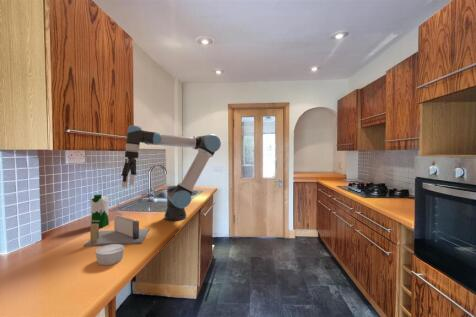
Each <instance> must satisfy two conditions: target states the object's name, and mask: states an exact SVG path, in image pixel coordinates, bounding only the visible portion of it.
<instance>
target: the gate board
mask: <svg viewBox="0 0 476 317" xmlns="http://www.w3.org/2000/svg"><path fill="white" fill-rule="evenodd" d="M149 232H150V228H139V238H138V239H133V237H131V236H128V235H125V234H123V233H120V232H117V231H114V230H113V229H111V230H99V241H98V242H97V243H91V242H90V239H89V240H88V241H86V242H85V243H84V244H83V247H102V246H106V245H110V244H121V245H123V246H124V245H140V244H143V242H144V240H145V239H146V237H147V235H148V233H149Z"/></svg>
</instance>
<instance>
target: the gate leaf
mask: <svg viewBox="0 0 476 317" xmlns="http://www.w3.org/2000/svg"><path fill="white" fill-rule="evenodd" d="M113 221H114V222H113V223H114V224H113V225H114V226H113V227H114V231H117V232H120V233H123V234H125V235H128V236H131V237H133V221H135V220H134V219H132V218H129V217H125V216H122V215H119V214H117V215H114V217H113Z"/></svg>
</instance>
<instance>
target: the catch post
mask: <svg viewBox="0 0 476 317" xmlns="http://www.w3.org/2000/svg"><path fill="white" fill-rule="evenodd" d="M89 229H90V232H89V233H90V236H89V238H90V239H89V240H90V242H91V243H97V242H98V241H99V232H100V228H99V224H91V223H90V226H89Z"/></svg>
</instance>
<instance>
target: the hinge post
mask: <svg viewBox="0 0 476 317" xmlns="http://www.w3.org/2000/svg"><path fill="white" fill-rule="evenodd" d="M139 229H140V220H134V221H133V239H138V238H139Z"/></svg>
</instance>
